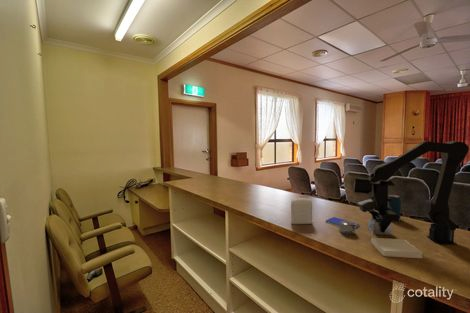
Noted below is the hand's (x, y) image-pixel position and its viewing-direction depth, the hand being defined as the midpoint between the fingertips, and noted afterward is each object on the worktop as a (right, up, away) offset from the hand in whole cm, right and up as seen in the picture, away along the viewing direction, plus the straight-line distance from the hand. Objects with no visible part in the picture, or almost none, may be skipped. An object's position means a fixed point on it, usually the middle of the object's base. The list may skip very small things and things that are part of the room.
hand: (379, 229), depth 96 cm
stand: (-4, -2, -15) cm, 16 cm away
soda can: (+17, 0, +16) cm, 23 cm away
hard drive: (-12, -1, +10) cm, 15 cm away
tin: (-14, -1, 0) cm, 14 cm away
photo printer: (-31, -1, +12) cm, 33 cm away
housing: (0, -1, 0) cm, 1 cm away
